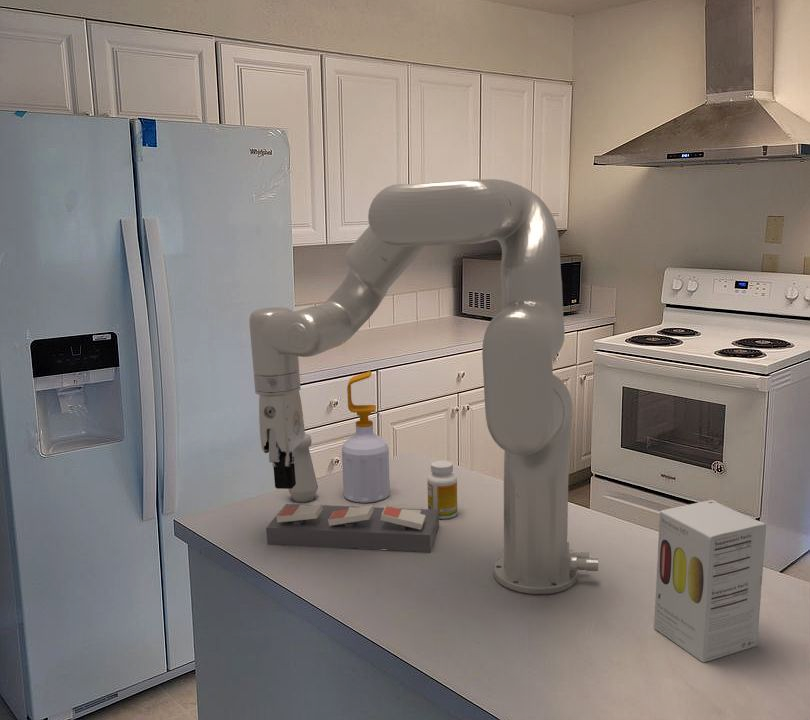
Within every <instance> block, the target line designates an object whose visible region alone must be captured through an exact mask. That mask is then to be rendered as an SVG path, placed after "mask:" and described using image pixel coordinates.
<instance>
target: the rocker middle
mask: <svg viewBox="0 0 810 720" xmlns="http://www.w3.org/2000/svg"><path fill="white" fill-rule="evenodd" d="M356 507H357V508H351V509H345V510H339V511H334V512H333V513H332V515H331V516H330V518H329V519H328V523H329V526H332V525H338V524H344V523H350V522H356V521H362V520H369V518H370V516H371V515H372V513H373V511H374V510H373V507H374V506H373V504H370V505H364V506H356Z"/></svg>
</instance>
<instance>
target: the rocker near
mask: <svg viewBox="0 0 810 720" xmlns="http://www.w3.org/2000/svg"><path fill="white" fill-rule="evenodd" d="M383 508H384V510H383V512H382V514H381V519H380V520H383V521H387V522H391V523H395V524H399V525H403V526H407V527H411V528H415V529H419V530H421V529H422V526H423V524H424V521H425V516H426V515H423V514H419V513H415V512H411V511H407V510H402V509H398V508H399V507H393V506H389V505H385V506H384V507H383Z"/></svg>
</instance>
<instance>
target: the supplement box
mask: <svg viewBox="0 0 810 720" xmlns="http://www.w3.org/2000/svg"><path fill="white" fill-rule="evenodd" d="M658 521H659V525H658V526H659V527H658V542H657V543H658V544H657V545H658V546H657V560H656V561H657V563H656V566H657V567H656V581H655V599H654V601H655V602H654V603H655V604H654V620H653V628H654V630H656V631H657V632H659V633H661V634H662V635H663V636H665V637H666V638H667V639H669V640H670V641H672V642H673V643H675V644H676V645H677V646H679V647H680V648H681V649H683V651H684V650H685V651H686V652H688V653H689V655H691V656H693V657H694V658H696V659H697V660H698V661H700V662H701V663H707V662H710V661H713V660H716V659H720V658H723V657H726V656H730V655H732V654H736V653H738V652H739V653H740V652H742V651H745V650H748V649H751V648H755V647H757V646H758V637H759V626H760V625H759V624H760V613H761V610H760V608H761V598H762V586H763V585H762V584H763V572H764V559H765V558H764V557H765V547H766V546H765V545H766V534H767V532H766V531H767V523H765V522H763V521H761V520H757V519H755V518H753V517H751V516H748V515H746V514H744V513H742V512H740V511H737V510H734V509H733V508H731V507H728V506H726V505H725V504H722V503H720V502H718V501H716V500H713V499H709V500H705V501H700V502H695V503H694V502H693V503H690V504H686V505H681V506H676V507H671V508H666V509H662V510H660V511H659V520H658Z"/></svg>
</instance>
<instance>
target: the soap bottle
mask: <svg viewBox="0 0 810 720" xmlns="http://www.w3.org/2000/svg"><path fill="white" fill-rule="evenodd" d="M372 374H373V373H372V371H370V370H369V371H366V372H363V373H360V374H357V375H354V376H353V377H351V378H350V379H349V381H348V384H347V389H346V391H347V394H346V395H347V408H348V411H350V412H351V413H356V416H359V420H357V421H355V433H354V434H353V435H352V436H350V437H349V438H348V439H346V440H345V441H344V442H343V444H342V447H341V459H342V460H341V462H342V463H341V466H342V485H343V496H344V498H345V499H346V500H348V501H351V502H354V503H359V502H360V503H359V504H369V503H370V502H371V503H376V502H380V501H383V500H384V499H387V498H388V497H389V495H390V493H391V487H390V486H391V485H390V482H391V481H390V454H389V453H390V451H389V448H390V447H389V446H388V443H387V441H386V440H385V439H384V438H383V437H382V436H380V435H378V434H376V433H374V423H373V421H372V420H369V416H371V415H372V413H374V412H376V409H377V406H376V405H375V404H359V405H358V404H354V403H353V401H352V385H353V384H354V383H358V382H360V381H363V380H366V379H369V378H370V377H372Z"/></svg>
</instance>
